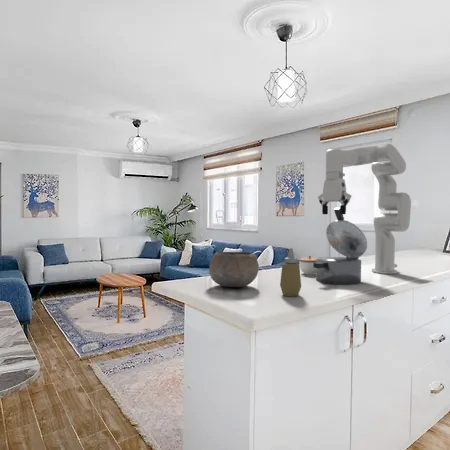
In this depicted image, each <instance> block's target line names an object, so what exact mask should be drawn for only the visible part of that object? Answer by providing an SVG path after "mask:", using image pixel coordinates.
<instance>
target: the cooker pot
mask: <svg viewBox="0 0 450 450" xmlns="http://www.w3.org/2000/svg"><path fill="white" fill-rule="evenodd" d="M315 258H316V257H315ZM314 268H316V274H315V280H316V281H317V282H319V283H321V284H328V285H335V286H336V285H337V286H353V285H355V286H356V285H359V284H361V283H362V259H355V258H347V257H346V256H344V257H343V256H322V257H321V256H320V257H317V258H316V263H314Z"/></svg>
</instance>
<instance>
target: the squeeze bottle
mask: <svg viewBox="0 0 450 450" xmlns="http://www.w3.org/2000/svg"><path fill="white" fill-rule="evenodd" d="M279 287H280V290H281V293H282V295H283V296H285V297H297V296H299V294H300V291H301V288H302V279H301V269H300V263H298V258H297V257H295V254H294V250H293V248H289V249H288V252H287V257H285V258H284V262H283V263H282V264H281V273H280V282H279Z"/></svg>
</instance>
